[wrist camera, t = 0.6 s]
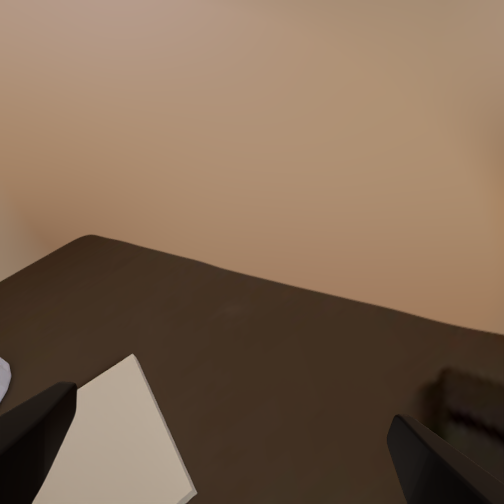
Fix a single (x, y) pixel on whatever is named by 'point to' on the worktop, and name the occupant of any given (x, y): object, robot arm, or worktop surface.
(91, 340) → the worktop surface
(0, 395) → the soap bottle
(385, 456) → the worktop surface
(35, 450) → the robot arm
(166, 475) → the pad
